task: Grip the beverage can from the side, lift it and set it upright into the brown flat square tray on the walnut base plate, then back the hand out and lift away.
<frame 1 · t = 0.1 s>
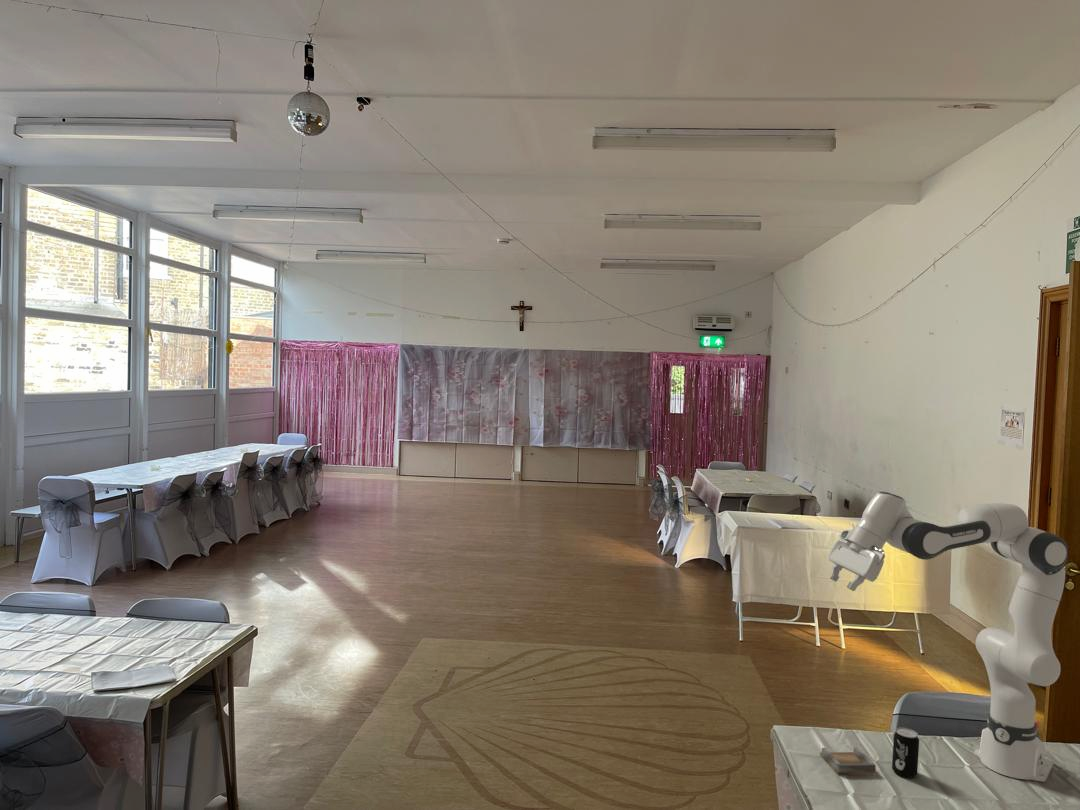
hand: (841, 584, 207), 54 cm above the table, tool tilted 30°, fingers open, 8 cm apart
beverage can: (904, 773, 210), on the table
brown flat square tray: (846, 764, 213), on the table
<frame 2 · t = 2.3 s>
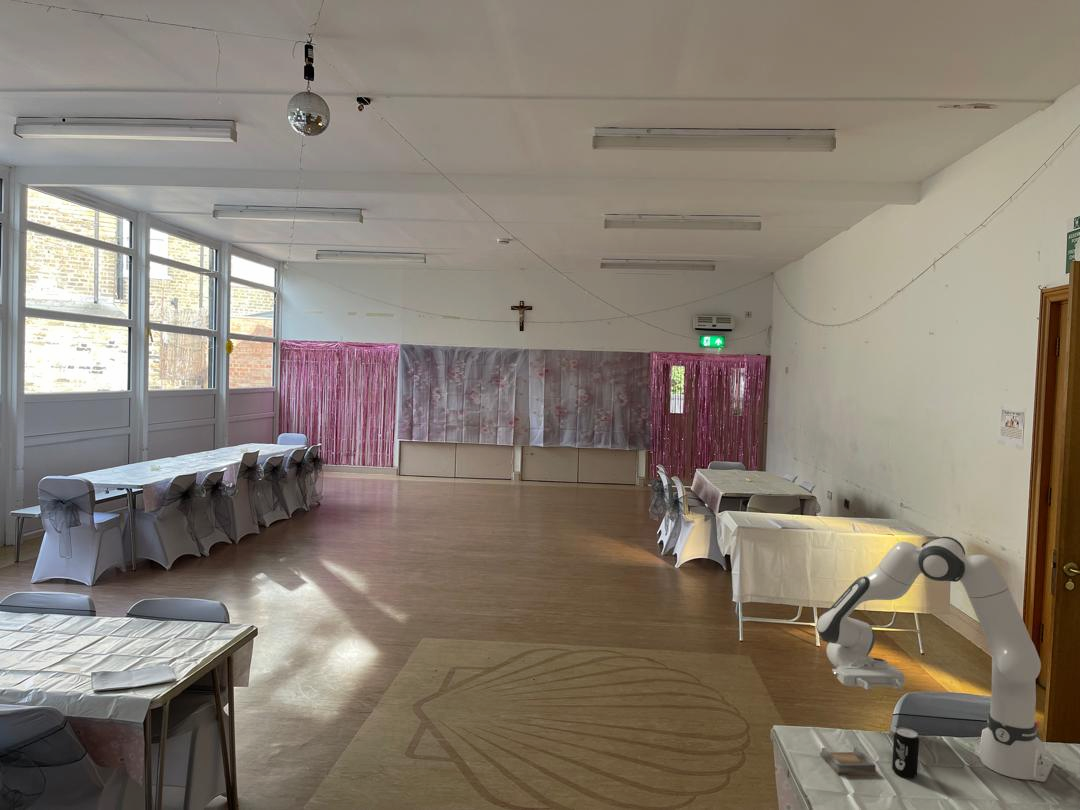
hand: (884, 687, 221), 20 cm above the table, tool horizontal, fingers open, 8 cm apart
nothing on the table moved.
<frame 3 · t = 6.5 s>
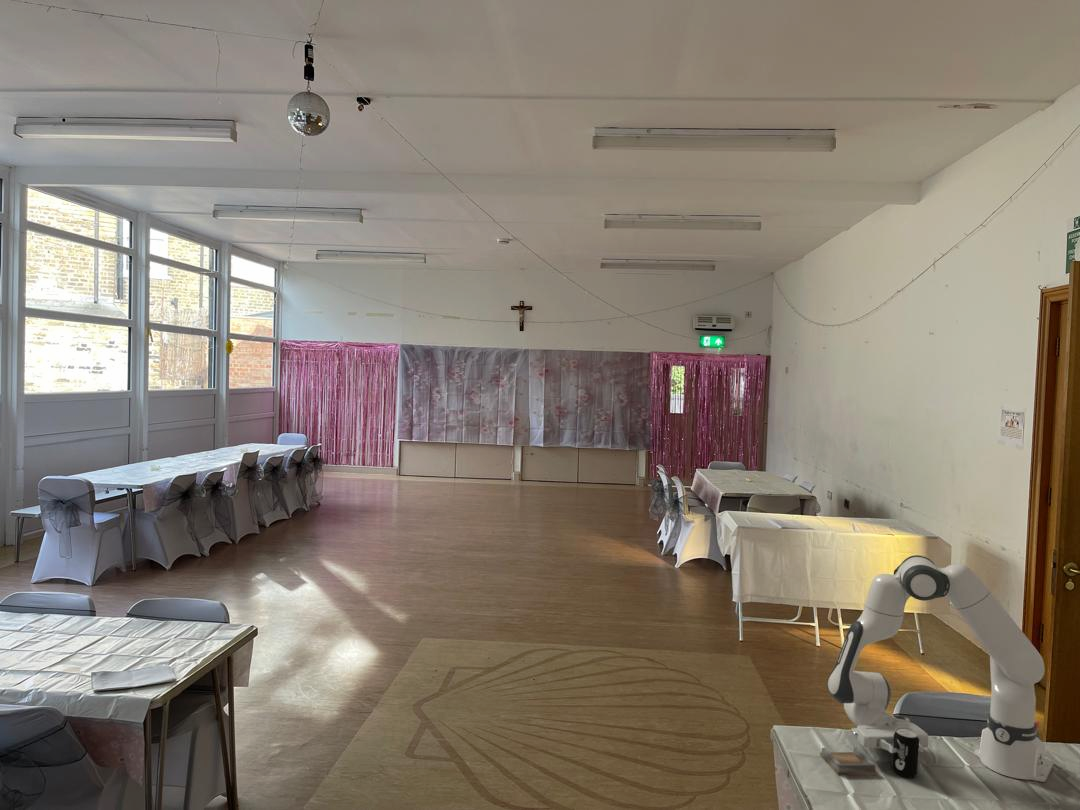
hand: (907, 750, 208), 7 cm above the table, tool horizontal, fingers closed on beverage can, 7 cm apart
beverage can: (904, 773, 210), on the table, touching gripper
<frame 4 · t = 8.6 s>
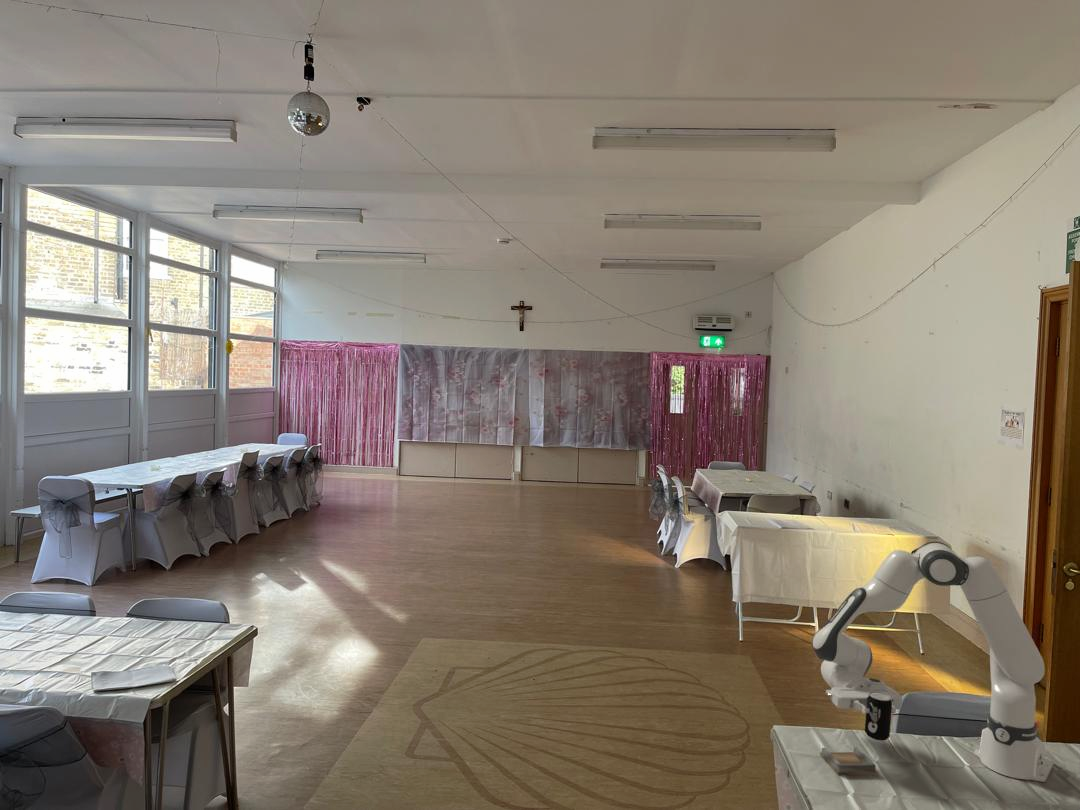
hand: (880, 711, 210), 17 cm above the table, tool horizontal, fingers closed on beverage can, 7 cm apart
beverage can: (876, 736, 211), point 9 cm above the table, touching gripper
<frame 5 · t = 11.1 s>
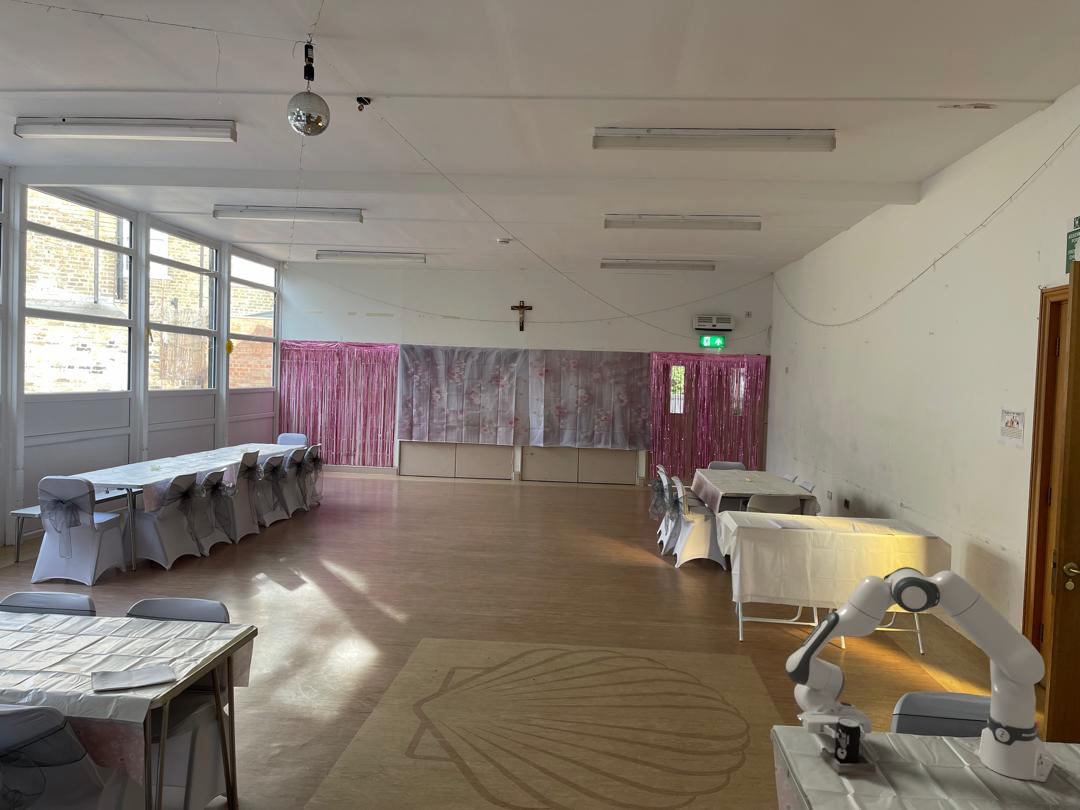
hand: (849, 735, 212), 9 cm above the table, tool horizontal, fingers closed on beverage can, 7 cm apart
beverage can: (846, 762, 213), point 1 cm above the table, touching brown flat square tray, gripper
when the fingers open (9 cm above the table, at t = 11.6 s): beverage can stays where it is, resting on brown flat square tray.
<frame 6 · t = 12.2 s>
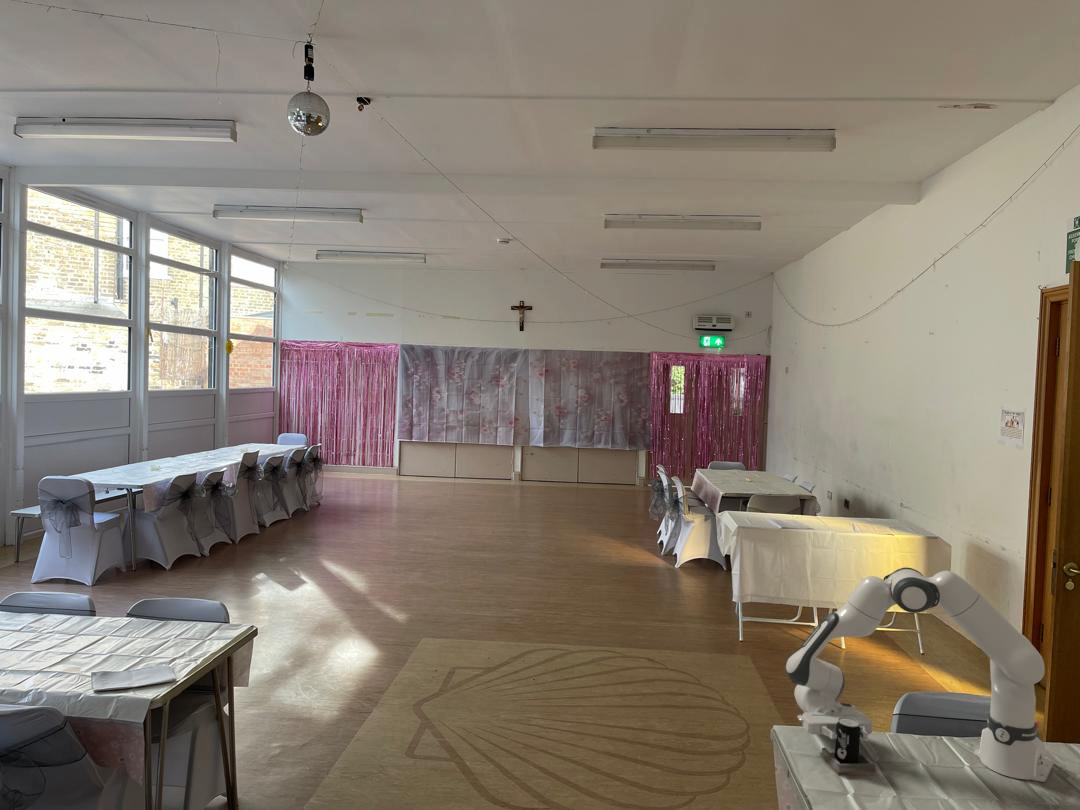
hand: (850, 736, 212), 9 cm above the table, tool horizontal, fingers open, 8 cm apart
beverage can: (846, 762, 213), point 1 cm above the table, touching brown flat square tray
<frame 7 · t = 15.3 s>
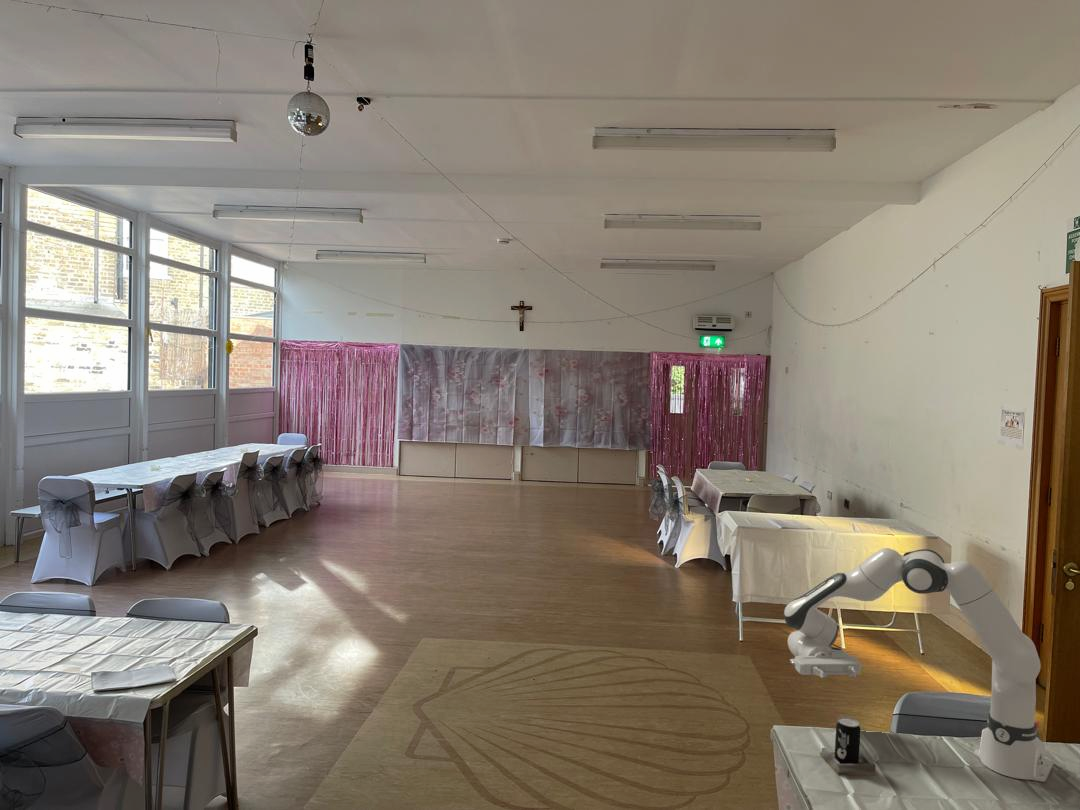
hand: (839, 675, 224), 22 cm above the table, tool horizontal, fingers open, 8 cm apart
nothing on the table moved.
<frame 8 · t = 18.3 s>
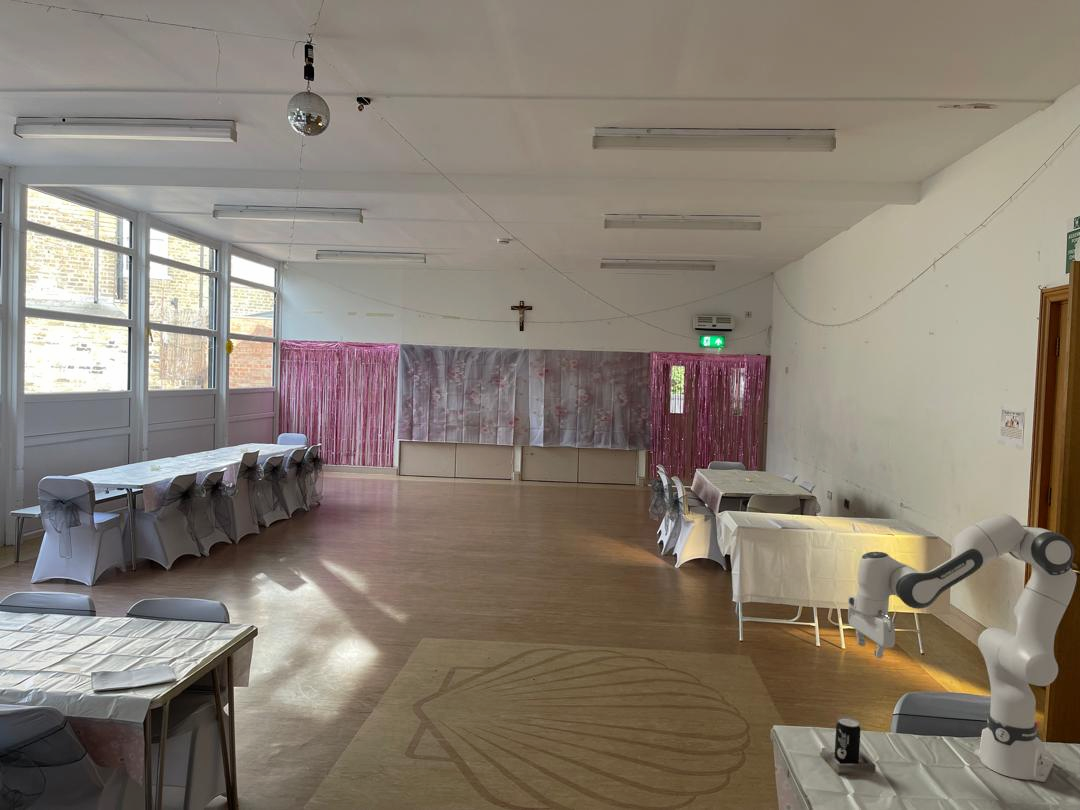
hand: (869, 651, 220), 31 cm above the table, tool pointing down, fingers open, 8 cm apart
nothing on the table moved.
at the end: beverage can 0.3 cm off-centre on the brown flat square tray, point 0.6 cm above the brown flat square tray's base; beverage can tilted 0°; the gripper is holding nothing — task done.
